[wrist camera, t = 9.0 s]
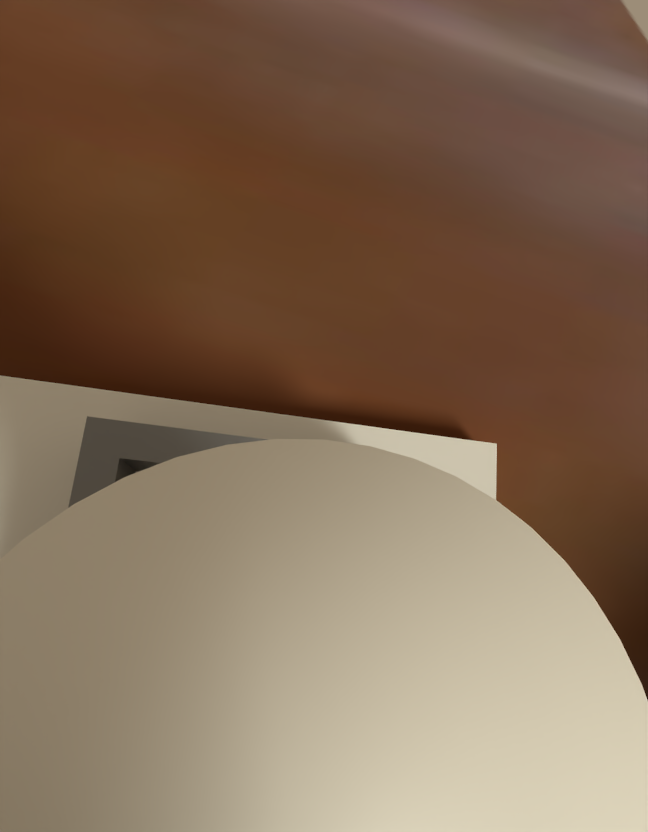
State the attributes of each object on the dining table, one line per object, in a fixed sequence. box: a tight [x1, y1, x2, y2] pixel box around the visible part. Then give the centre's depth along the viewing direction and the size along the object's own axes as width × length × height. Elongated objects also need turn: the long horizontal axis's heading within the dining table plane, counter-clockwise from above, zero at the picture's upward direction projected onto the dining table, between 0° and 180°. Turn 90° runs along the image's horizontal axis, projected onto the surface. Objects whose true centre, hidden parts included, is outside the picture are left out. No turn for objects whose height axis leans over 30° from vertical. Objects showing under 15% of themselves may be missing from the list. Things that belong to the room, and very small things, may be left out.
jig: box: [0, 375, 497, 559], centre depth 16 cm, size 12×18×4 cm, turn 84°
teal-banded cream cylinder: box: [0, 439, 648, 832], centre depth 9 cm, size 5×5×13 cm
